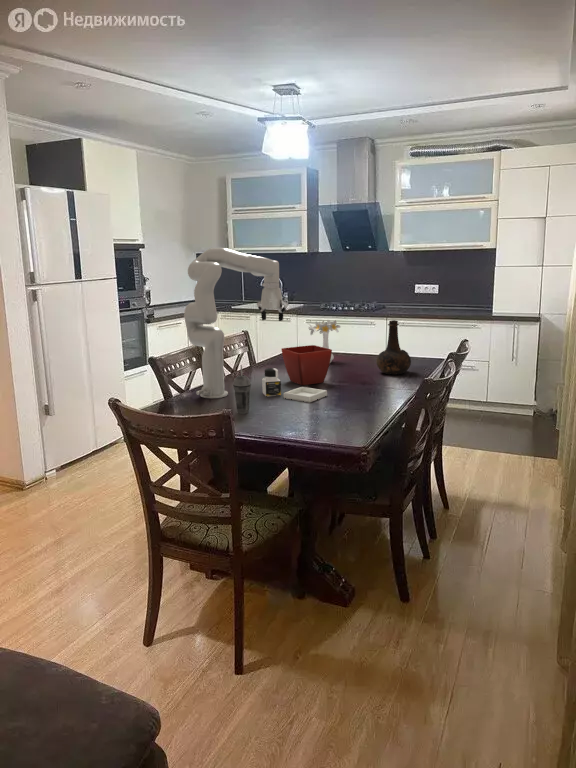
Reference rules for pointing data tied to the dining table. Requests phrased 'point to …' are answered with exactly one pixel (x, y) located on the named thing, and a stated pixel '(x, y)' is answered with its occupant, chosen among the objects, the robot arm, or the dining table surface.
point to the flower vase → (325, 331)
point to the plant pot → (307, 363)
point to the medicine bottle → (271, 383)
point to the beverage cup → (242, 393)
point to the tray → (305, 394)
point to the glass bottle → (393, 354)
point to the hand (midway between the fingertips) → (272, 320)
